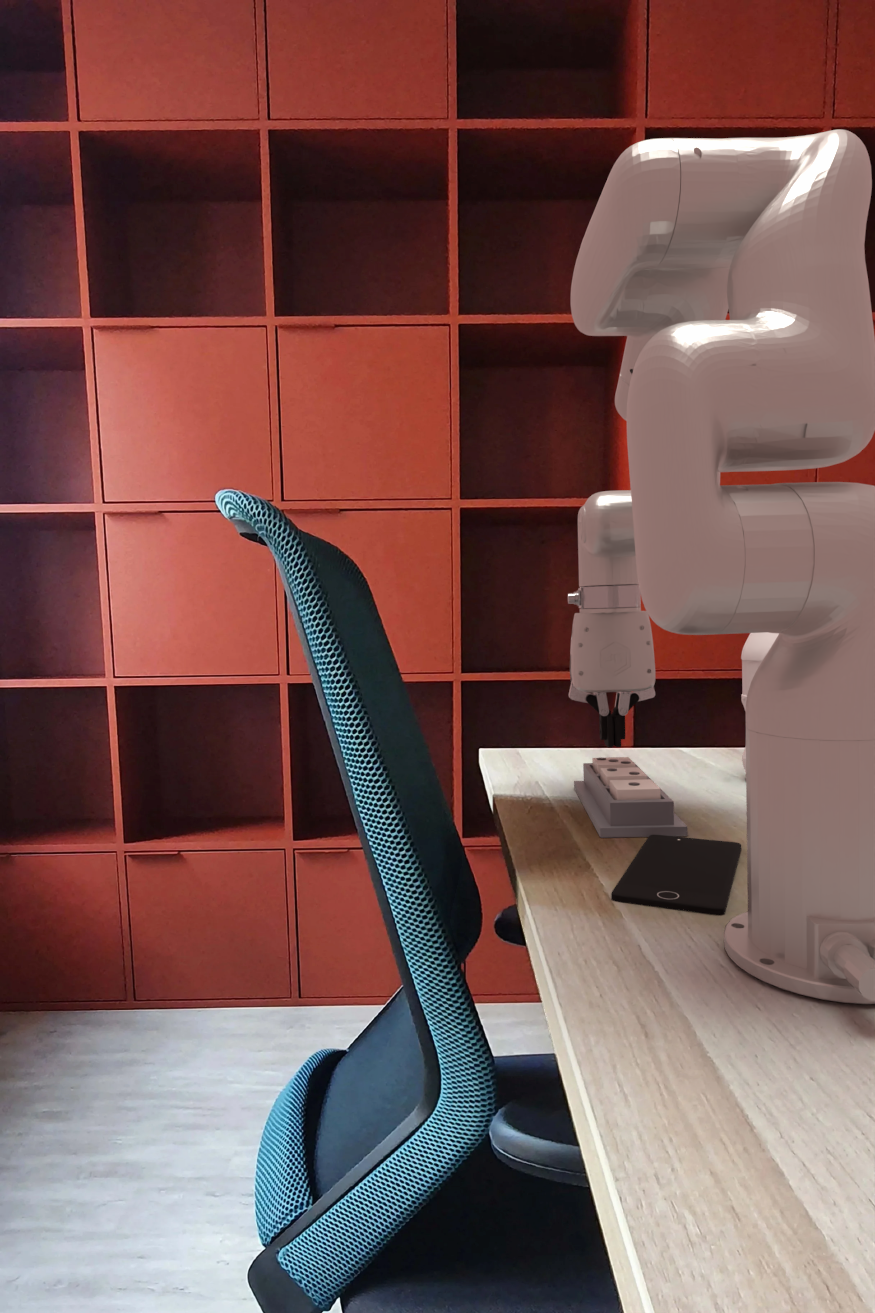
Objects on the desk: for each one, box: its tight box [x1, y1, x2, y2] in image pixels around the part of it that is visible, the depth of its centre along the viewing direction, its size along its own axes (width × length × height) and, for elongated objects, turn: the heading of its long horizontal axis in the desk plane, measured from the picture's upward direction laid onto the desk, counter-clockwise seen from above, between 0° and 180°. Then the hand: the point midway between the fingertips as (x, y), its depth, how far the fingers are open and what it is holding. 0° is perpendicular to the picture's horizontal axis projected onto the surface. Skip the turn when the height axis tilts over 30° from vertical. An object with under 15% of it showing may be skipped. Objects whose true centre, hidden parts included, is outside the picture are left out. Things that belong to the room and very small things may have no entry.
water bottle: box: [740, 632, 779, 772], centre depth 101 cm, size 7×7×25 cm
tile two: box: [600, 766, 648, 786], centre depth 90 cm, size 5×5×2 cm
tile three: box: [591, 756, 636, 774], centre depth 97 cm, size 5×5×2 cm
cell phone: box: [610, 835, 742, 916], centre depth 69 cm, size 9×18×1 cm, turn 154°
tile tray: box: [573, 762, 689, 839], centre depth 90 cm, size 22×9×4 cm, turn 177°
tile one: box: [610, 778, 661, 800], centre depth 84 cm, size 5×5×2 cm
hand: (612, 745), depth 97 cm, fingers closed
